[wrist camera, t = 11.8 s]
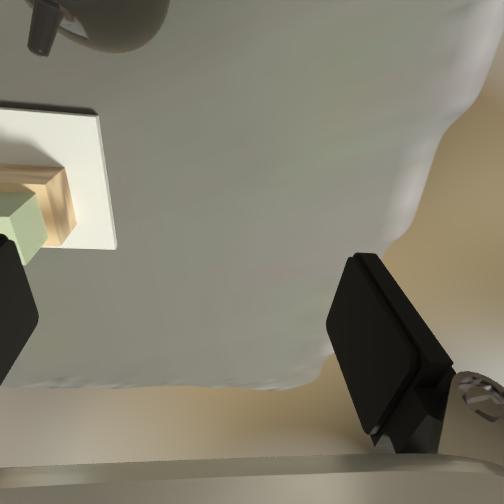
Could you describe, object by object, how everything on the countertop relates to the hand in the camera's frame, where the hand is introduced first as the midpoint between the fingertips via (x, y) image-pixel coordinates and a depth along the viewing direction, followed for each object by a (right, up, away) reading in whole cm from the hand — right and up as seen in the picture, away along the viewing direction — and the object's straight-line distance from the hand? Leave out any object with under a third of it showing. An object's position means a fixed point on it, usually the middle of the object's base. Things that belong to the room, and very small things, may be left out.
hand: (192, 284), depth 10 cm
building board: (-22, +9, +28) cm, 37 cm away
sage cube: (-22, +5, +23) cm, 32 cm away
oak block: (-22, +7, +27) cm, 36 cm away
